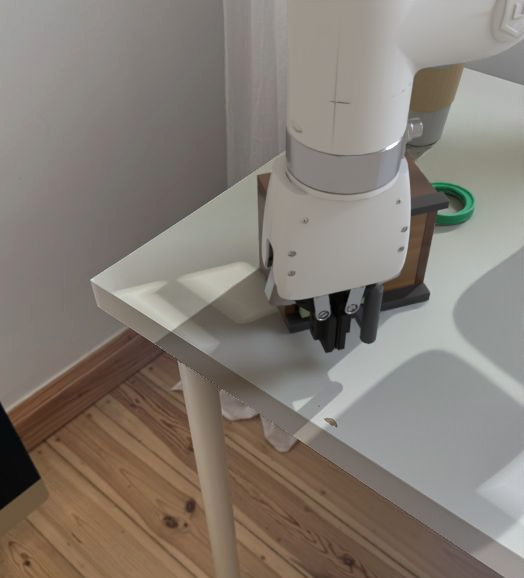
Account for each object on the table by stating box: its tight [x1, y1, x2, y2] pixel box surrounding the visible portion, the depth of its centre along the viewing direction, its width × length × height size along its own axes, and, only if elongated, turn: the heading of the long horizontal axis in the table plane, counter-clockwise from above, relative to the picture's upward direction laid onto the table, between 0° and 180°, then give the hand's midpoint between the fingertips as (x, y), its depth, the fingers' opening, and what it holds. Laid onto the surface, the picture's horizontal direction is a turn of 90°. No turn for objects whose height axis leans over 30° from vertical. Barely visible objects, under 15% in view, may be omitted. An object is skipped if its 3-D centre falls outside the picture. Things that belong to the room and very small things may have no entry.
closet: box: [256, 150, 451, 334], centre depth 67 cm, size 10×14×12 cm
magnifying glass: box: [429, 181, 477, 226], centre depth 78 cm, size 15×6×2 cm, turn 84°
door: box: [300, 284, 383, 345], centre depth 62 cm, size 7×7×9 cm
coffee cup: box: [406, 62, 467, 147], centre depth 83 cm, size 9×9×15 cm
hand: (328, 338), depth 61 cm, fingers closed
